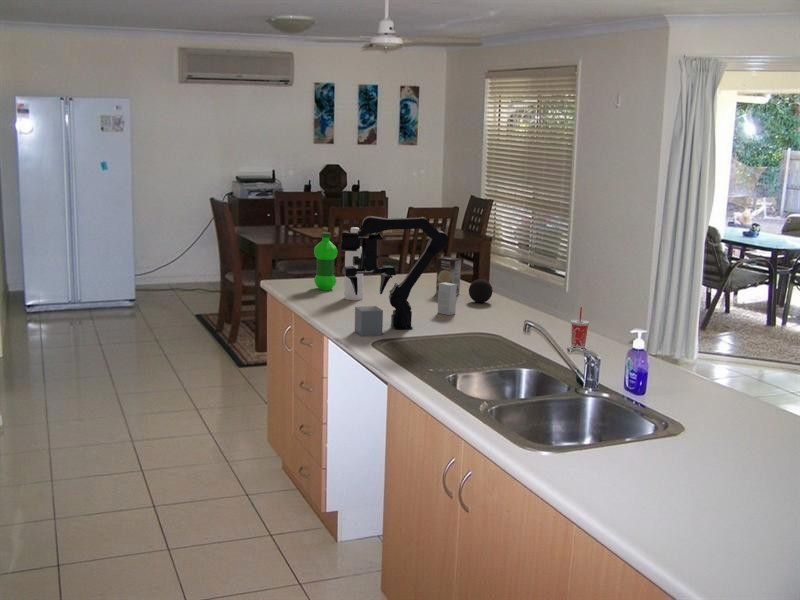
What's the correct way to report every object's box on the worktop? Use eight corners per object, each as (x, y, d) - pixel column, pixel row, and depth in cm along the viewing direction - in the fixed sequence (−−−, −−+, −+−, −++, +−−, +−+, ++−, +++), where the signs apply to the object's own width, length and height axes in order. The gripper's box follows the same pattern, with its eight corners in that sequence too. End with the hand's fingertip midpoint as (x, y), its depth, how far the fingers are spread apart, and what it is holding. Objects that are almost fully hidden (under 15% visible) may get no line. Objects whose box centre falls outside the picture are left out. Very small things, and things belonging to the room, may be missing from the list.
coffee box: (435, 293, 377) (436, 257, 373) (442, 291, 382) (443, 256, 379) (453, 296, 372) (454, 260, 369) (460, 294, 377) (461, 258, 374)
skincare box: (455, 314, 336) (457, 284, 334) (448, 315, 333) (450, 285, 331) (444, 311, 340) (445, 281, 338) (437, 312, 337) (438, 283, 335)
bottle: (366, 299, 359) (368, 228, 353) (350, 301, 354) (351, 229, 348) (356, 296, 365) (358, 226, 359) (340, 297, 361) (342, 227, 355)
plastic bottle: (316, 286, 385) (316, 231, 380) (339, 287, 383) (340, 232, 378) (310, 290, 375) (311, 233, 370) (334, 291, 373) (335, 234, 368)
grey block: (375, 329, 305) (375, 305, 304) (382, 335, 298) (382, 310, 297) (354, 331, 303) (355, 306, 301) (361, 336, 296) (361, 311, 294)
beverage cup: (565, 345, 292) (568, 305, 290) (580, 344, 295) (583, 304, 292) (575, 349, 287) (578, 309, 284) (590, 348, 289) (594, 308, 286)
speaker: (486, 299, 367) (487, 276, 365) (495, 304, 357) (497, 281, 355) (464, 300, 363) (465, 277, 361) (473, 305, 354) (474, 281, 352)
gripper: (388, 248, 315) (386, 289, 318) (338, 248, 309) (338, 291, 312) (397, 252, 304) (395, 295, 307) (346, 253, 299) (345, 297, 302)
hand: (368, 294), depth 307 cm, fingers open, 9 cm apart
